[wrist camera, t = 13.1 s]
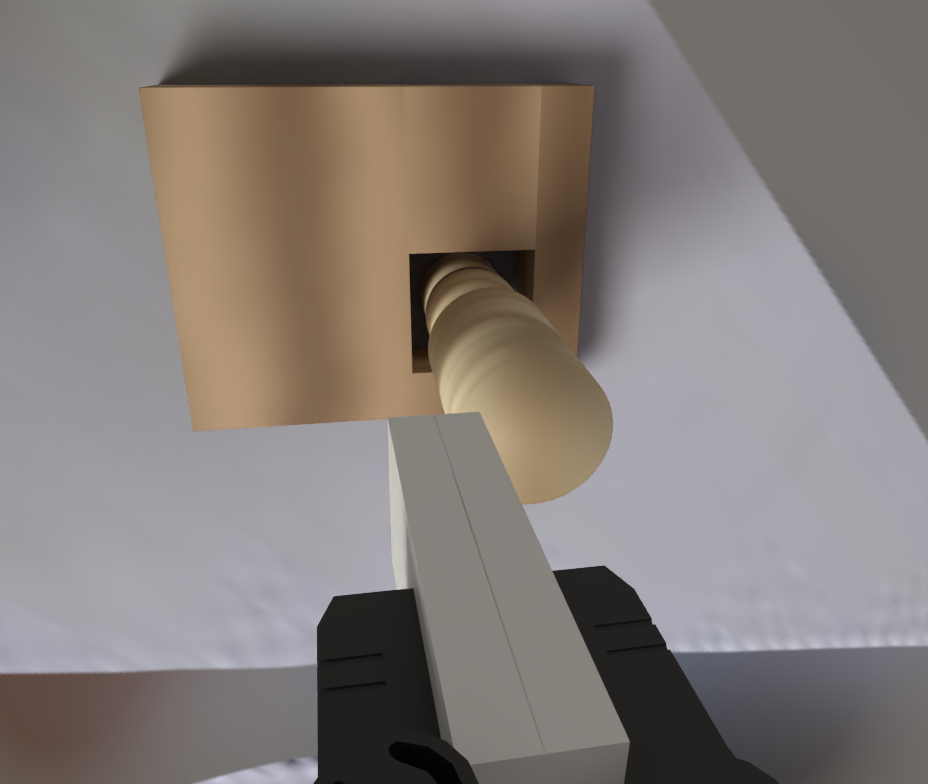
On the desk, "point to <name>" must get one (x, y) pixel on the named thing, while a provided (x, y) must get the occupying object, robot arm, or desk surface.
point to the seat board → (352, 231)
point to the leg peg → (513, 377)
